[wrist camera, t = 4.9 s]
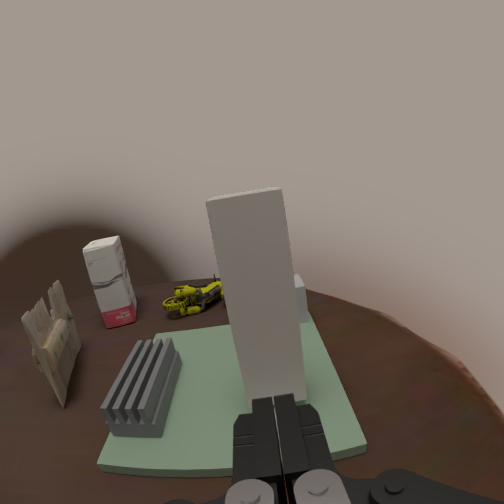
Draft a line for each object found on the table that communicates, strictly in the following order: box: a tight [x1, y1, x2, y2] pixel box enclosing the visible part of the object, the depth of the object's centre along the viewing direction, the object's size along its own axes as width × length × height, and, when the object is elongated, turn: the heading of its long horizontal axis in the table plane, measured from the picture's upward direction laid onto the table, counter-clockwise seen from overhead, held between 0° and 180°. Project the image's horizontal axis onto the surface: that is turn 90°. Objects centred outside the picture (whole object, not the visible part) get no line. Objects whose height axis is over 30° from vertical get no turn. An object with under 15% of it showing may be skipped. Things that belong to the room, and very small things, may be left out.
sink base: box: [97, 274, 367, 477], centre depth 25 cm, size 22×18×5 cm
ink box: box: [83, 236, 137, 328], centre depth 43 cm, size 9×5×12 cm, turn 19°
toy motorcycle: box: [162, 274, 225, 316], centre depth 43 cm, size 12×4×7 cm
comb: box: [21, 280, 81, 408], centre depth 28 cm, size 15×2×10 cm, turn 23°
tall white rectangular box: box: [206, 187, 307, 409], centre depth 22 cm, size 8×4×14 cm, turn 2°
